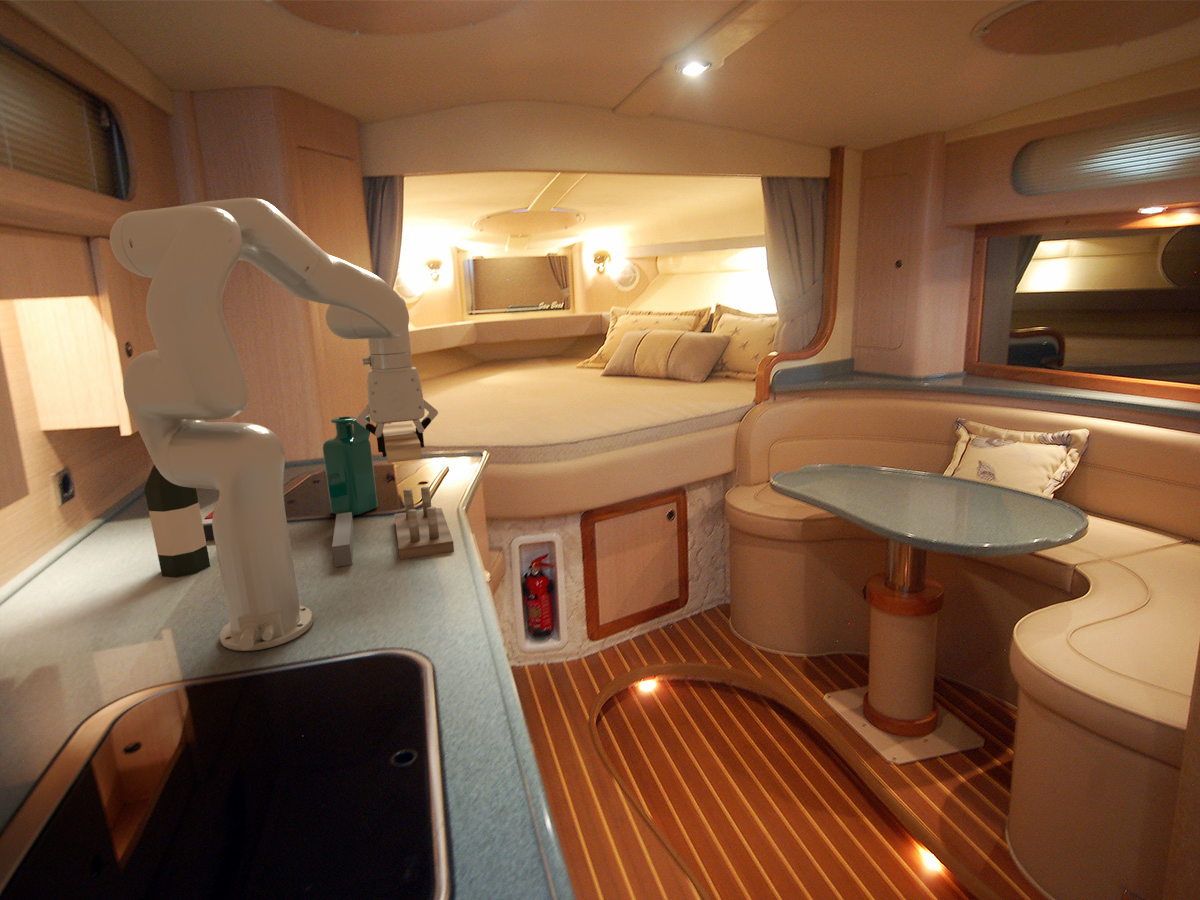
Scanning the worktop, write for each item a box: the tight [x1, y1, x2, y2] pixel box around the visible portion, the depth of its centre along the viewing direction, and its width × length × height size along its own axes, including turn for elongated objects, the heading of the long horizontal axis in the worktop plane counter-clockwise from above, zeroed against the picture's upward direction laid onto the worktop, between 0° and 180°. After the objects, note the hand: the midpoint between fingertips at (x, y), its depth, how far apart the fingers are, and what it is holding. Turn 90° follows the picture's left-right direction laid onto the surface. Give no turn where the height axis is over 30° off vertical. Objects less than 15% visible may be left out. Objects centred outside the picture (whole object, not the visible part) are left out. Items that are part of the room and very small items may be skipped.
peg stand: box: [393, 486, 455, 560], centre depth 138 cm, size 22×10×8 cm, turn 18°
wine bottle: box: [144, 463, 211, 578], centre depth 124 cm, size 8×8×30 cm
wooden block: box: [382, 421, 423, 464], centre depth 134 cm, size 22×6×3 cm, turn 19°
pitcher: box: [322, 415, 379, 517], centre depth 155 cm, size 10×8×22 cm
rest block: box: [331, 512, 355, 568], centre depth 134 cm, size 20×3×4 cm, turn 18°
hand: (401, 452), depth 135 cm, fingers closed on wooden block, 6 cm apart
